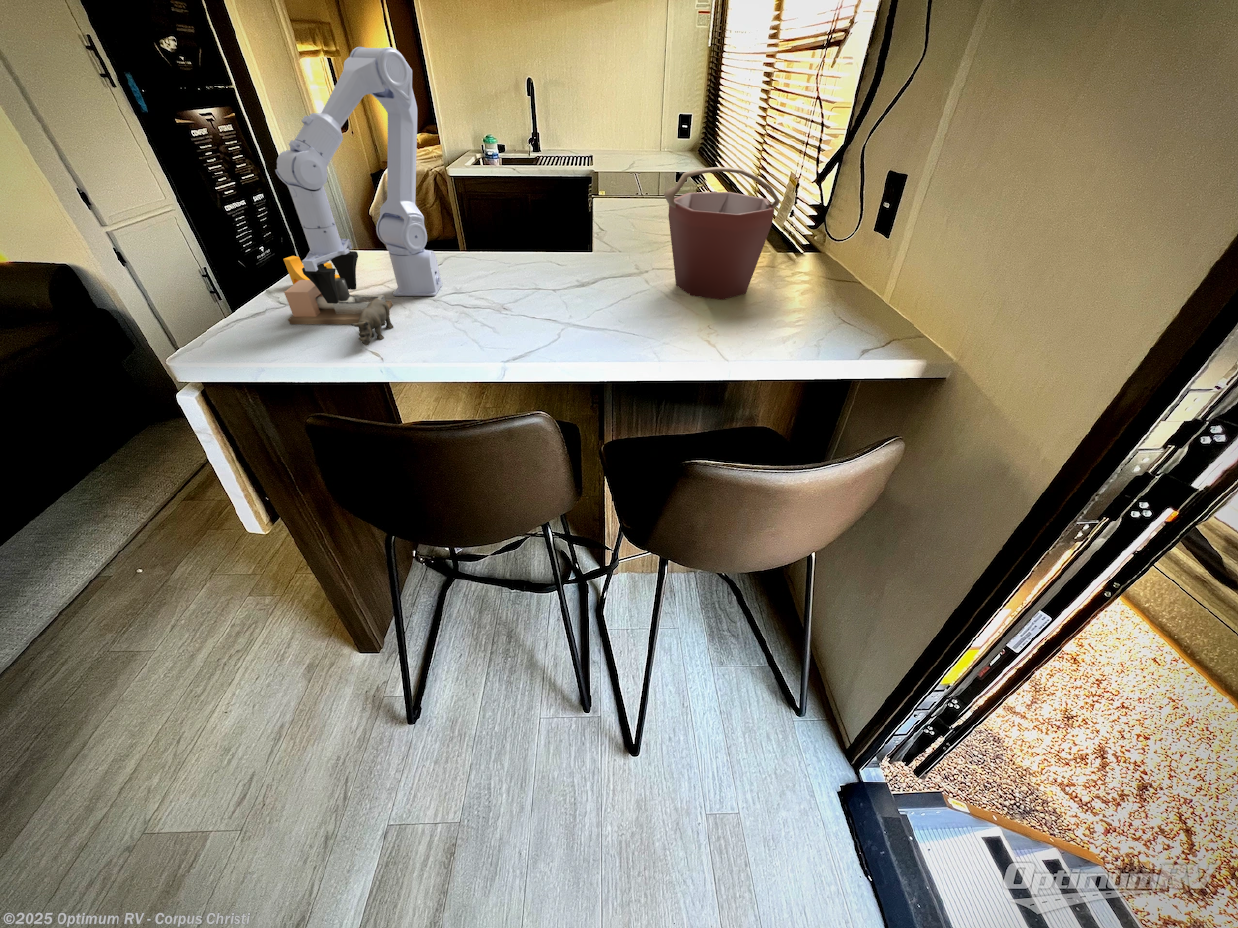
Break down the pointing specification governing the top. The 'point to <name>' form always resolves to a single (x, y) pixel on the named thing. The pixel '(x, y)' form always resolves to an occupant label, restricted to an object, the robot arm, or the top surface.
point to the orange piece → (299, 269)
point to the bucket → (717, 236)
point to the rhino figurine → (373, 321)
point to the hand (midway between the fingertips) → (342, 295)
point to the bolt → (342, 294)
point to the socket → (303, 298)
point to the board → (328, 317)
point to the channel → (356, 304)
